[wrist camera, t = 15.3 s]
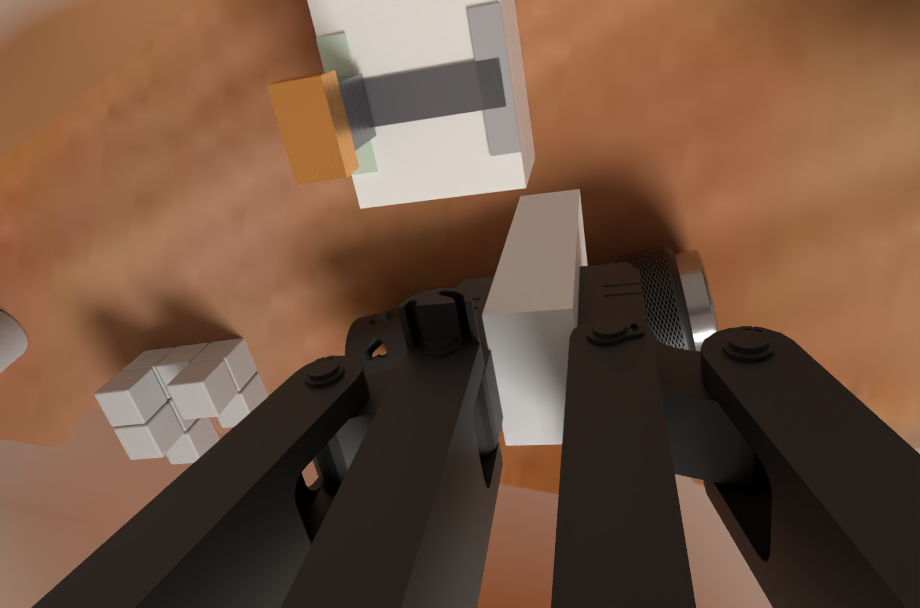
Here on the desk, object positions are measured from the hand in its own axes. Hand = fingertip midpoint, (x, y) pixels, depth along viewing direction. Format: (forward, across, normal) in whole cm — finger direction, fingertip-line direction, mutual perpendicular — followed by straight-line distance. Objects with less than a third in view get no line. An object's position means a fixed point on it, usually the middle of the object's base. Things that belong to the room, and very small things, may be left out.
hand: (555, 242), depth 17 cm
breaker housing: (+34, +10, -1) cm, 36 cm away
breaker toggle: (+26, +15, -1) cm, 30 cm away
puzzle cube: (+35, +40, +26) cm, 59 cm away
